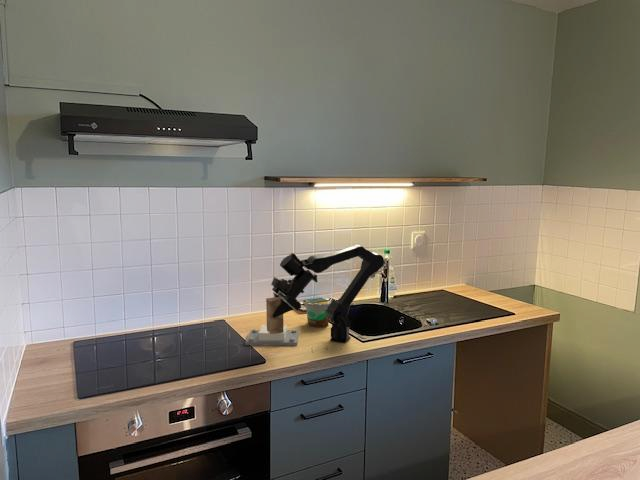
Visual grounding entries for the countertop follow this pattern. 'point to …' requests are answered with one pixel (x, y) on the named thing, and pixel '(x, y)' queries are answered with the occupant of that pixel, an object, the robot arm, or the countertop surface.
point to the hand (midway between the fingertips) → (271, 314)
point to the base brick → (272, 337)
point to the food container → (317, 314)
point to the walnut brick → (273, 323)
